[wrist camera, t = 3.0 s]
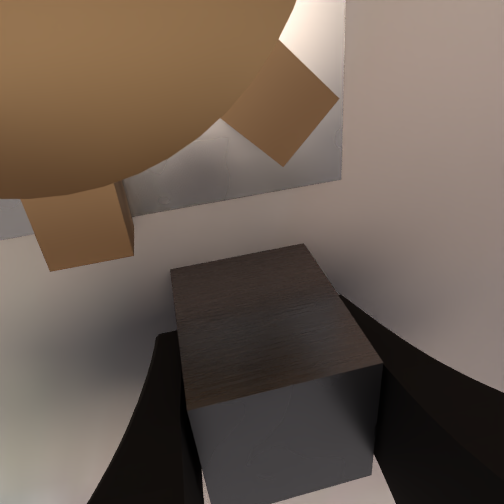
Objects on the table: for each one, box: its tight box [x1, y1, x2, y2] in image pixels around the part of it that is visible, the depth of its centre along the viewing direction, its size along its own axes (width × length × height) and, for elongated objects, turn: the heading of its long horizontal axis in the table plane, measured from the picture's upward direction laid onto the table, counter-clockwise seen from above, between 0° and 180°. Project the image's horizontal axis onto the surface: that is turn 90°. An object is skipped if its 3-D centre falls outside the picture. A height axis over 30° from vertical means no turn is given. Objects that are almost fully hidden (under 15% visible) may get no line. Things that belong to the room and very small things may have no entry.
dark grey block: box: [170, 243, 383, 504], centre depth 12 cm, size 4×4×5 cm
